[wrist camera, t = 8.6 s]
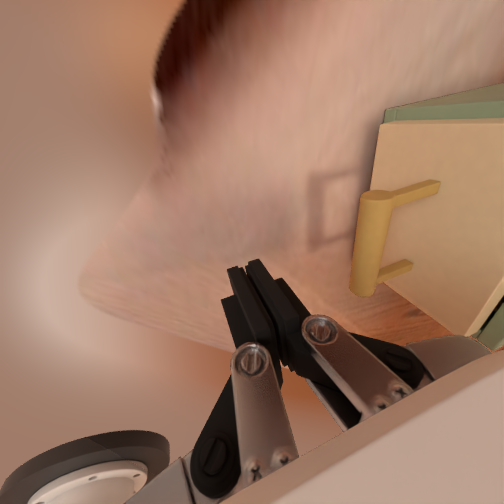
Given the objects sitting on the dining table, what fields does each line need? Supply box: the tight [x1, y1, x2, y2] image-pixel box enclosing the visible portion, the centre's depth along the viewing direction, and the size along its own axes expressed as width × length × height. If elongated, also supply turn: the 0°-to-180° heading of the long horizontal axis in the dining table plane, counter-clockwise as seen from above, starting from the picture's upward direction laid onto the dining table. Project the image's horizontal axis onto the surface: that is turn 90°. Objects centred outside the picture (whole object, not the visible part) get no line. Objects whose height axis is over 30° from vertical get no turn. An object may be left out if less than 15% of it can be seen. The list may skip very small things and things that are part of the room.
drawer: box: [349, 118, 504, 337], centre depth 13 cm, size 17×10×8 cm, turn 100°
